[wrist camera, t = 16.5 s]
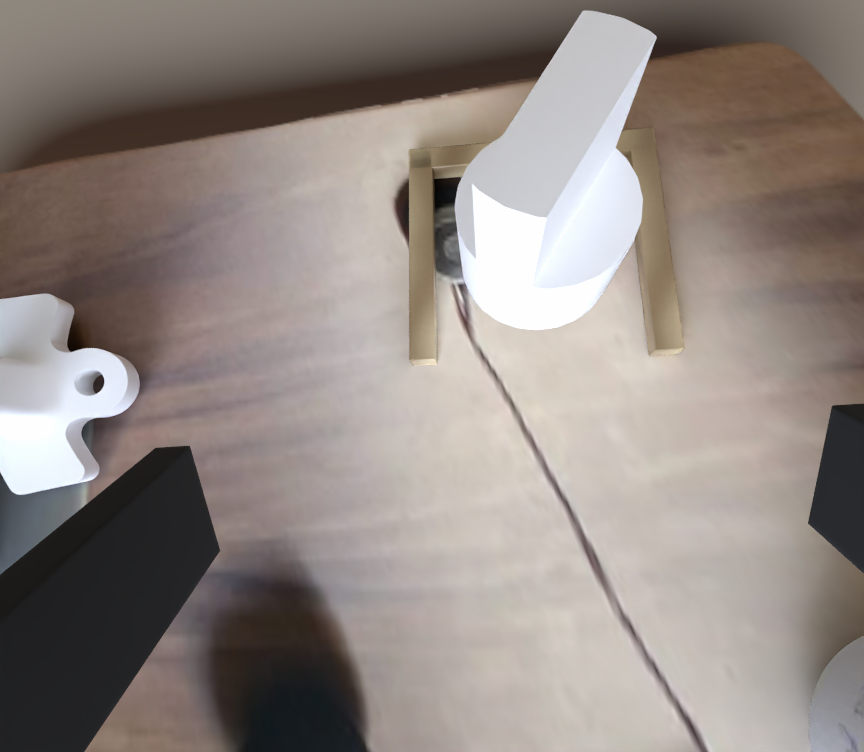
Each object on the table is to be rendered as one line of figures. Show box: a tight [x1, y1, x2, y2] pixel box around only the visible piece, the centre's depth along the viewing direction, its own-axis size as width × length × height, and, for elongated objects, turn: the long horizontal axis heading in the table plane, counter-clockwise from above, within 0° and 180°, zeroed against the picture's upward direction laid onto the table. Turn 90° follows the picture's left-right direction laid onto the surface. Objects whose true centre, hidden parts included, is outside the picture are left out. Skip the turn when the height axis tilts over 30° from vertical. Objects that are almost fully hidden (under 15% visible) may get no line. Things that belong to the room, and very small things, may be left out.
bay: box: [409, 127, 684, 366], centre depth 29 cm, size 15×14×1 cm
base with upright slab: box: [455, 11, 656, 330], centre depth 23 cm, size 9×9×12 cm
